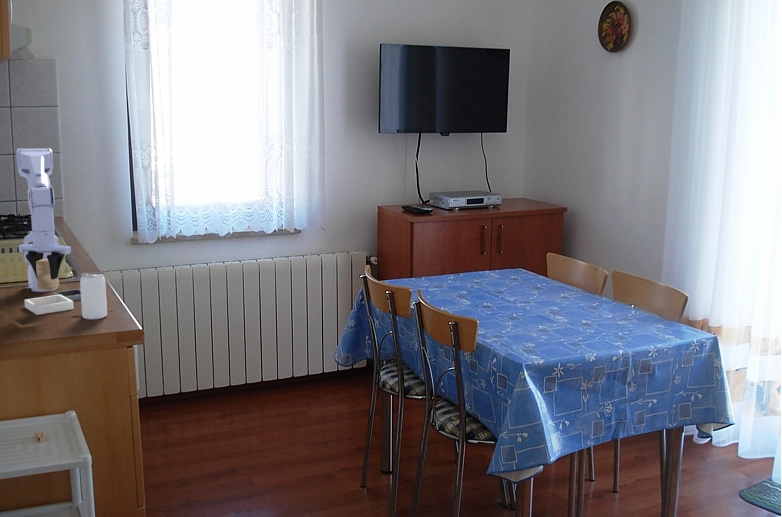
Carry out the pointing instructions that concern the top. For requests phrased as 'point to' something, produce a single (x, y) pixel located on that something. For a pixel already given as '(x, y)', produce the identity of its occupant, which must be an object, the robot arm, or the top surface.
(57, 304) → the bin tray
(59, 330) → the top surface
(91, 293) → the can
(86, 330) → the top surface
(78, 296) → the stud socket
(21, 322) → the top surface
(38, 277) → the peg
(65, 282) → the top surface
